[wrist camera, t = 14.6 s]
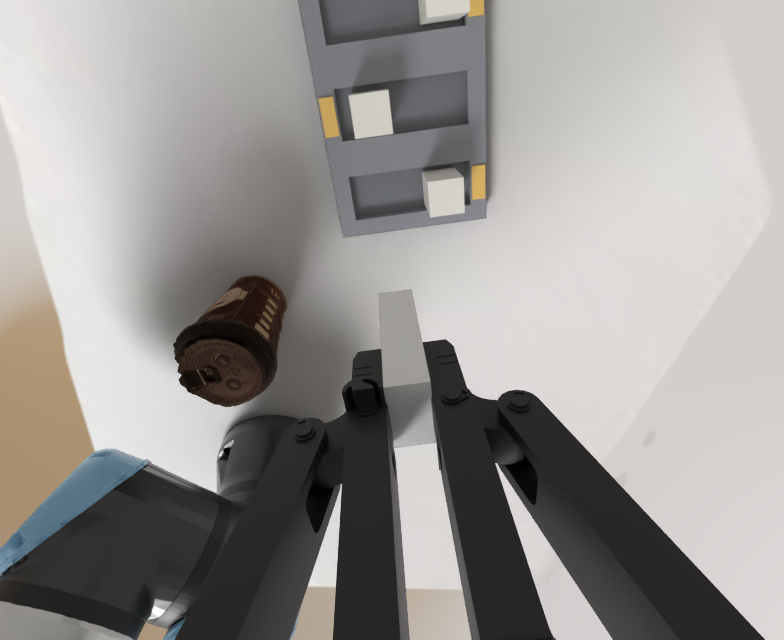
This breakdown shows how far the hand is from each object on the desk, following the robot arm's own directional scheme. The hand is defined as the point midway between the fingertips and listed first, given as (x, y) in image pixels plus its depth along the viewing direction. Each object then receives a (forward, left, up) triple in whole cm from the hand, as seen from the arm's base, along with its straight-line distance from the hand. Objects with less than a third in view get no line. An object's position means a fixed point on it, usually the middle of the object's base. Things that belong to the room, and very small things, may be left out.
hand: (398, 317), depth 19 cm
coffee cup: (-15, -10, -25) cm, 31 cm away
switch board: (+3, +7, -24) cm, 25 cm away
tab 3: (+5, 0, -23) cm, 24 cm away
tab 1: (0, +7, -23) cm, 24 cm away
